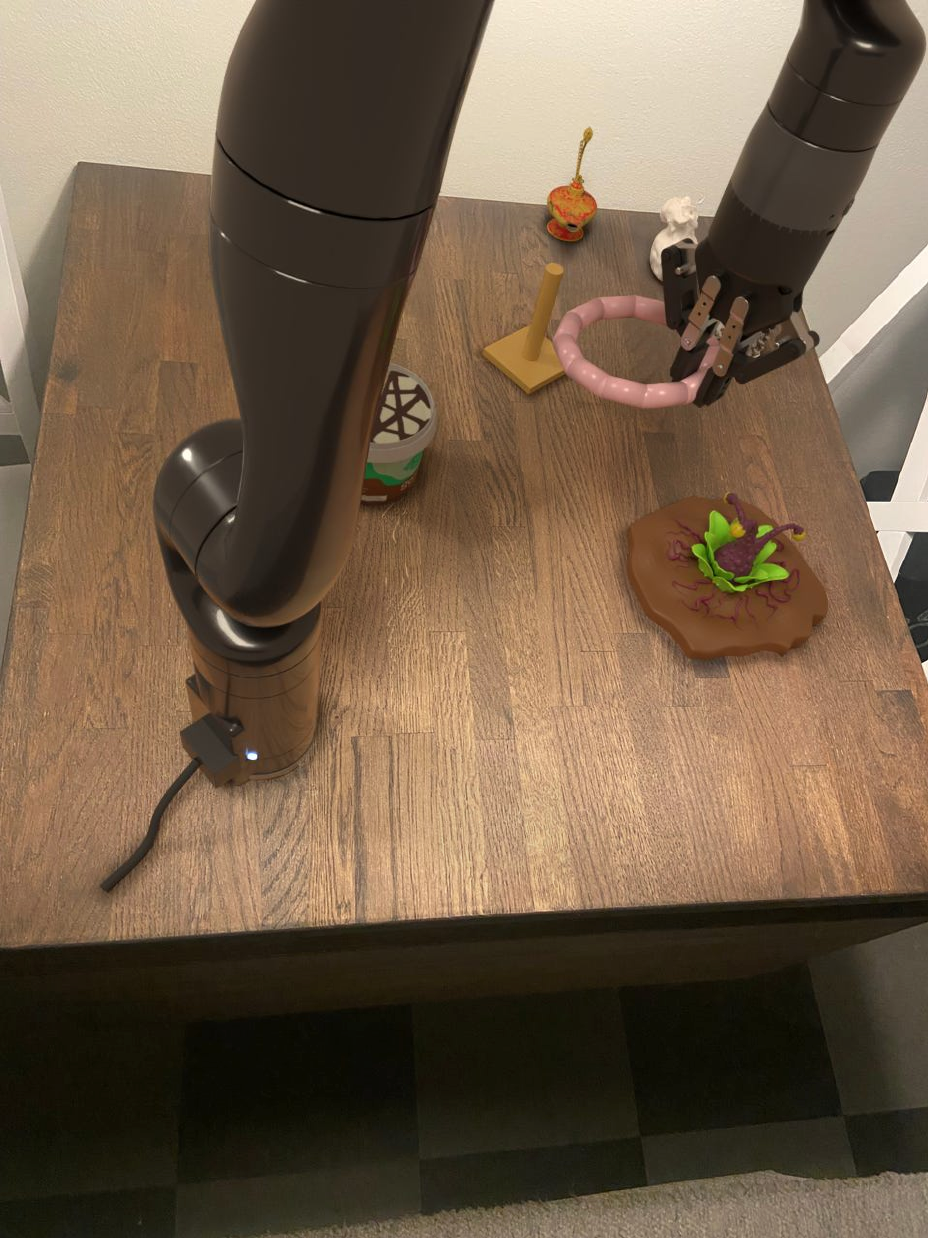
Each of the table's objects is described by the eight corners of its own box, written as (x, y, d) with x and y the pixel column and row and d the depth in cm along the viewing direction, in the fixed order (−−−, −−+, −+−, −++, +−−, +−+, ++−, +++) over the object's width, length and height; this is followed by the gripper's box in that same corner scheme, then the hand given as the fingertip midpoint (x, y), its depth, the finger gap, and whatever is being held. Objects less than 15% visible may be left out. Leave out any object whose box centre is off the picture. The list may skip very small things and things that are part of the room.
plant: (590, 531, 96) (623, 458, 87) (740, 493, 103) (784, 421, 94) (685, 690, 87) (733, 628, 78) (842, 637, 94) (903, 574, 85)
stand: (528, 394, 106) (555, 302, 95) (482, 354, 109) (503, 259, 98) (574, 368, 110) (605, 276, 99) (528, 330, 112) (554, 236, 102)
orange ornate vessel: (533, 271, 119) (553, 192, 110) (545, 194, 129) (565, 116, 120) (584, 282, 119) (608, 205, 110) (592, 205, 129) (615, 128, 120)
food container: (411, 529, 93) (423, 462, 84) (352, 514, 92) (359, 445, 84) (437, 444, 99) (451, 374, 91) (382, 430, 99) (391, 358, 91)
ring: (645, 435, 69) (651, 416, 67) (519, 348, 74) (521, 329, 73) (752, 368, 75) (759, 349, 74) (628, 292, 81) (632, 273, 79)
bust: (663, 261, 129) (636, 189, 121) (717, 242, 125) (692, 167, 117) (658, 313, 122) (628, 241, 114) (714, 296, 118) (688, 220, 111)
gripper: (672, 148, 58) (598, 359, 73) (843, 269, 54) (728, 467, 68) (743, 119, 62) (658, 326, 76) (909, 230, 57) (786, 427, 72)
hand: (692, 392), depth 72 cm, fingers closed on ring, 2 cm apart
